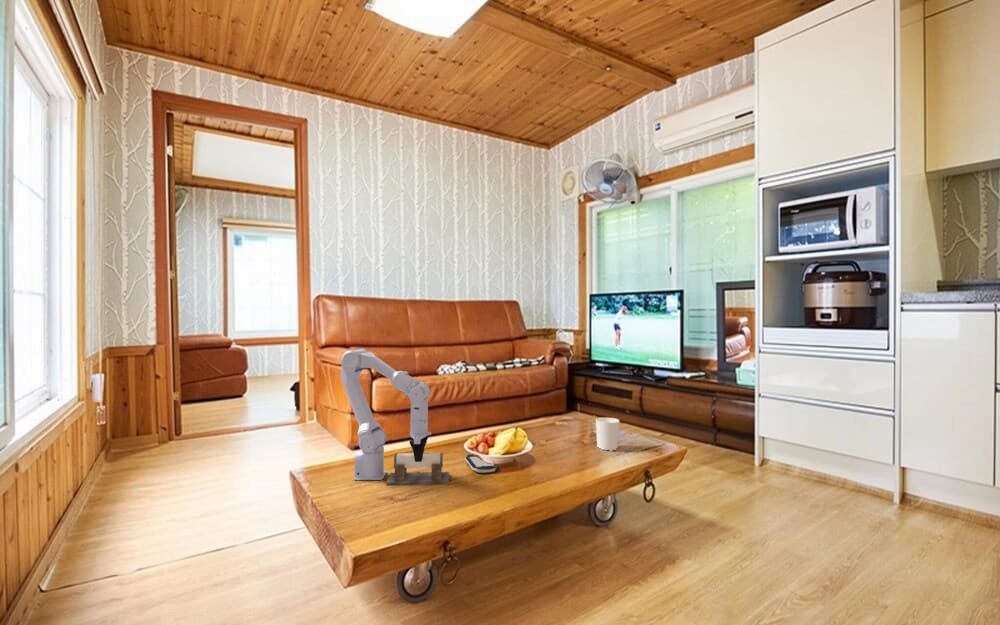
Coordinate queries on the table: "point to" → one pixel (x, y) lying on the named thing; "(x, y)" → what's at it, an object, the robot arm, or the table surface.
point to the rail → (425, 463)
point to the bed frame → (417, 476)
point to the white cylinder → (607, 433)
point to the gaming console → (480, 465)
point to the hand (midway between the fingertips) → (418, 459)
